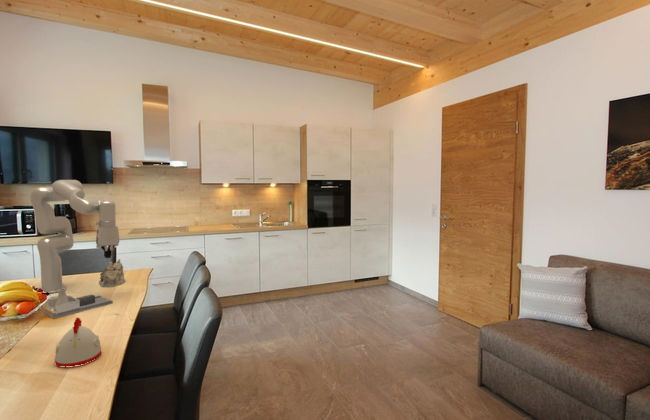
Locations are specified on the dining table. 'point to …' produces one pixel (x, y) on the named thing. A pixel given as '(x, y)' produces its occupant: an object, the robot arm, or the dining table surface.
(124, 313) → the dining table surface
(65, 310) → the housing
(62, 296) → the flask
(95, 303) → the base board
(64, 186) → the robot arm
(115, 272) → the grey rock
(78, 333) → the kitchen timer
